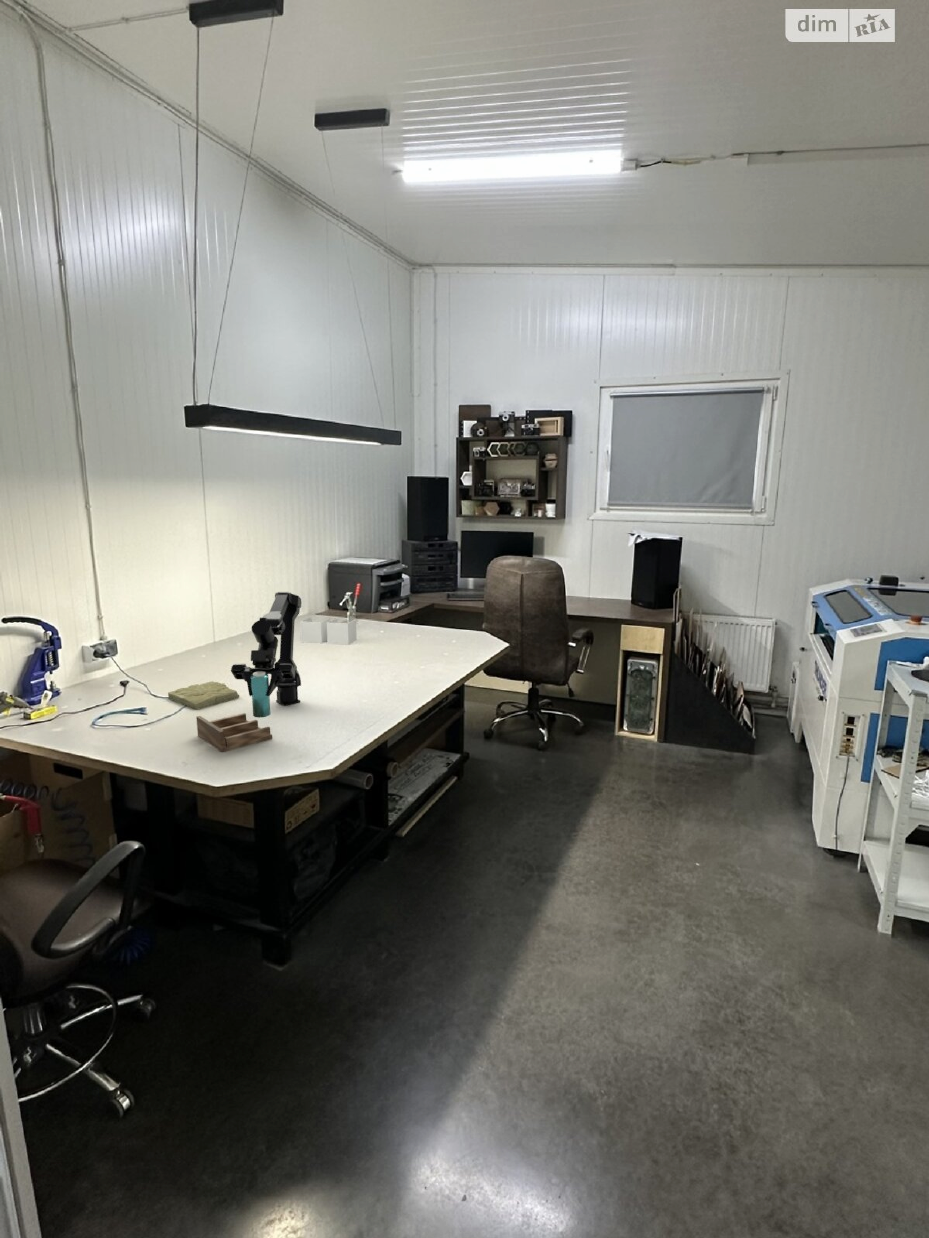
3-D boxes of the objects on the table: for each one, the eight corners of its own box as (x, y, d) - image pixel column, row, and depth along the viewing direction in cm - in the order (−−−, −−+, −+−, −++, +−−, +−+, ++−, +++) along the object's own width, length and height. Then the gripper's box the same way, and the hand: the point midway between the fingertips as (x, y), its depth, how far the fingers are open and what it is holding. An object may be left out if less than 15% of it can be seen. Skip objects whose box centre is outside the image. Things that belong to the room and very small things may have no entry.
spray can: (270, 711, 212) (267, 669, 210) (271, 716, 208) (268, 674, 205) (252, 712, 211) (250, 671, 208) (253, 718, 206) (250, 675, 203)
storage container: (301, 642, 335) (300, 621, 333) (310, 638, 345) (309, 617, 343) (348, 645, 330) (347, 623, 327) (356, 640, 340) (356, 619, 338)
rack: (246, 723, 221) (245, 705, 220) (272, 738, 208) (271, 719, 207) (197, 735, 210) (196, 716, 209) (221, 752, 197) (220, 732, 196)
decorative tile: (196, 711, 234) (195, 701, 234) (167, 699, 247) (166, 690, 246) (244, 698, 249) (243, 689, 248) (214, 687, 261) (214, 678, 260)
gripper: (230, 638, 208) (221, 683, 200) (291, 638, 209) (284, 683, 200) (240, 656, 218) (231, 700, 209) (298, 656, 218) (291, 700, 209)
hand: (259, 695), depth 207 cm, fingers closed on spray can, 5 cm apart
